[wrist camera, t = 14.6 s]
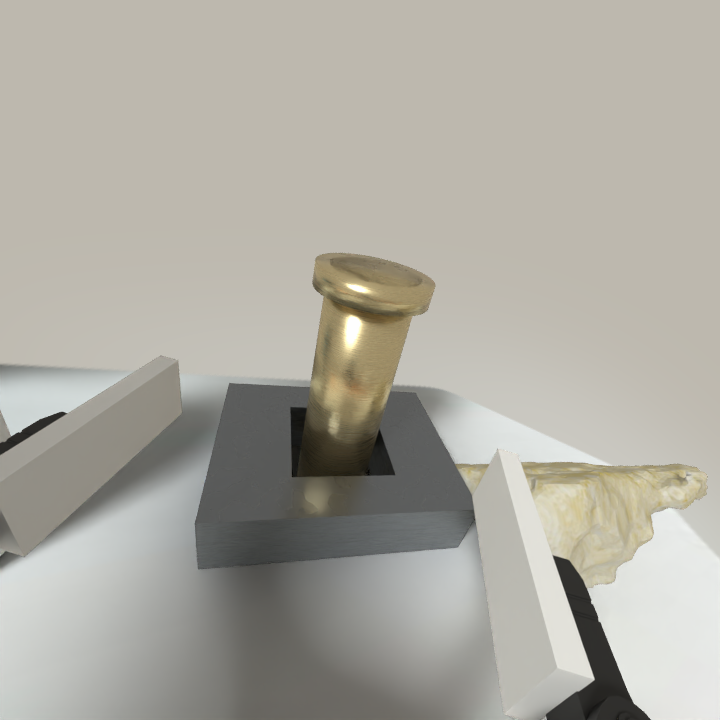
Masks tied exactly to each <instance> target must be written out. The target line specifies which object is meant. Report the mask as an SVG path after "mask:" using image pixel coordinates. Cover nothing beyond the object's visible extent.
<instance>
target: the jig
mask: <svg viewBox="0 0 720 720" xmlns="http://www.w3.org/2000/svg"><path fill="white" fill-rule="evenodd" d="M309 391H310V387H291V386H272V385H253V384H233V383H229V387H228V391H227V395H226V399H225V403H224V407H223V411H222V415H221V419H220V423H219V427H218V431H217V436H216V440H215V444H214V448H213V452H212V456H211V460H210V464H209V468H208V472H207V476H206V480H205V484H204V489H203V493H202V497H201V501H200V505H199V509H198V513H197V517H196V521H195V533H196V548H197V562H198V569H206V568H218V567H230V566H242V565H254V564H266V563H278V562H289V561H301V560H313V559H325V558H337V557H349V556H361V555H373V554H385V553H397V552H409V551H421V550H433V549H445V548H457V547H458V546H459V544H460V542H461V541H462V539H463V537H464V536H465V534H466V532H467V530H468V529H469V527H470V525H471V523H472V522H473V520H474V518H475V513H474V506H473V499H472V495H471V493H470V491H469V489H468V487H467V486H466V484H465V482H464V480H463V478H462V476H461V475H460V473H459V471H458V469H457V467H456V466H455V464H454V462H453V460H452V458H451V457H450V455H449V453H448V451H447V449H446V447H445V446H444V444H443V442H442V440H441V438H440V437H439V435H438V433H437V431H436V429H435V428H434V426H433V424H432V422H431V420H430V419H429V417H428V415H427V413H426V411H425V409H424V408H423V406H422V404H421V402H420V400H419V399H418V397H417V395H416V393H407V392H390V394H389V397H388V400H387V404H386V407H385V411H384V414H383V417H382V421H381V424H380V428H379V431H378V434H377V438H376V441H375V444H374V448H373V451H372V455H371V458H370V461H369V465H368V466H369V469H370V473H371V476H329V477H292V463H291V446H301V444H302V437H303V431H304V424H305V417H306V411H307V404H308V398H309Z"/></svg>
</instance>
